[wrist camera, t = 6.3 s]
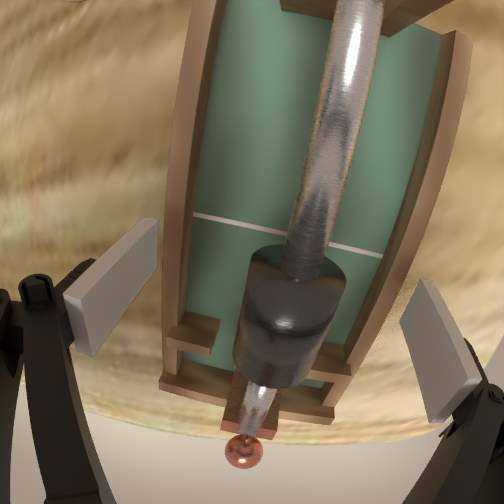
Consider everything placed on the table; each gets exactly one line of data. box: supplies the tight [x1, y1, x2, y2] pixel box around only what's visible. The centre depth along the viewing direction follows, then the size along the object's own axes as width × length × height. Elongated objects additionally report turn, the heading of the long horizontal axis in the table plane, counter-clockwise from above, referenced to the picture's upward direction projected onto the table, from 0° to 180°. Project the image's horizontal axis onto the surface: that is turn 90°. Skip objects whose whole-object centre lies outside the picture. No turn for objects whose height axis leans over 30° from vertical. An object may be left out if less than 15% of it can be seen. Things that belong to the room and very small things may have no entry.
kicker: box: [220, 0, 385, 469], centre depth 12 cm, size 3×27×11 cm, turn 170°
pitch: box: [159, 0, 474, 425], centre depth 16 cm, size 15×30×12 cm, turn 170°
